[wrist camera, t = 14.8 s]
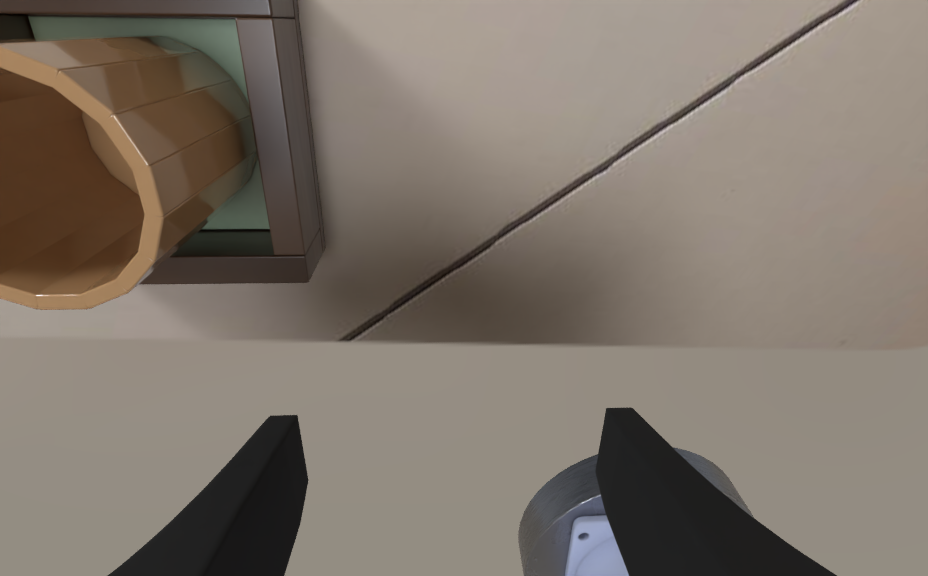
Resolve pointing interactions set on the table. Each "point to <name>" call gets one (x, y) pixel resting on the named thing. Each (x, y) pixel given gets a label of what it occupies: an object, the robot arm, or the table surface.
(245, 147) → the paper cup
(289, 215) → the cup holder
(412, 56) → the table surface
